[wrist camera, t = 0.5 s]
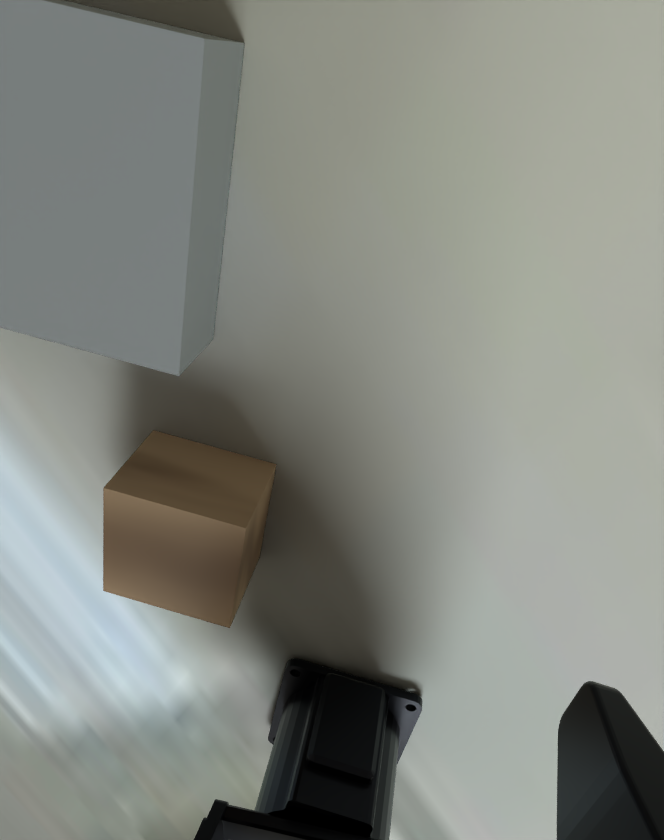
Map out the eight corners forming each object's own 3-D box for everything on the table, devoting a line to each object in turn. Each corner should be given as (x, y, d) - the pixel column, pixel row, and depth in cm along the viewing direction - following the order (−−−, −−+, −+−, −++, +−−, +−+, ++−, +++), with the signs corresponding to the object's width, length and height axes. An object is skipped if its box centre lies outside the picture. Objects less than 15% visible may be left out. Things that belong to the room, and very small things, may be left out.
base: (213, 339, 22) (178, 376, 19) (-27, 275, 22) (-92, 302, 20) (244, 43, 17) (204, 38, 14) (-60, -30, 17) (-151, -46, 15)
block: (260, 555, 26) (229, 628, 23) (149, 524, 27) (103, 590, 23) (277, 462, 24) (245, 528, 20) (154, 428, 24) (103, 487, 21)
